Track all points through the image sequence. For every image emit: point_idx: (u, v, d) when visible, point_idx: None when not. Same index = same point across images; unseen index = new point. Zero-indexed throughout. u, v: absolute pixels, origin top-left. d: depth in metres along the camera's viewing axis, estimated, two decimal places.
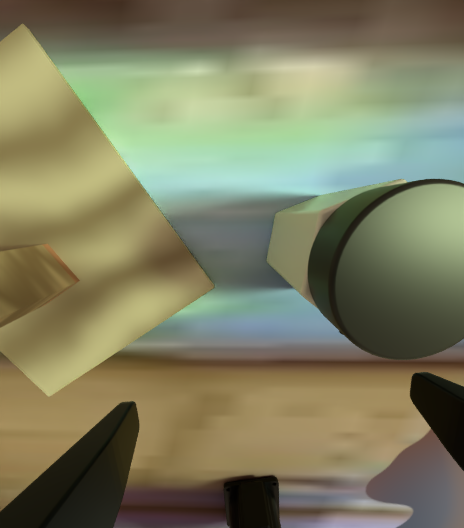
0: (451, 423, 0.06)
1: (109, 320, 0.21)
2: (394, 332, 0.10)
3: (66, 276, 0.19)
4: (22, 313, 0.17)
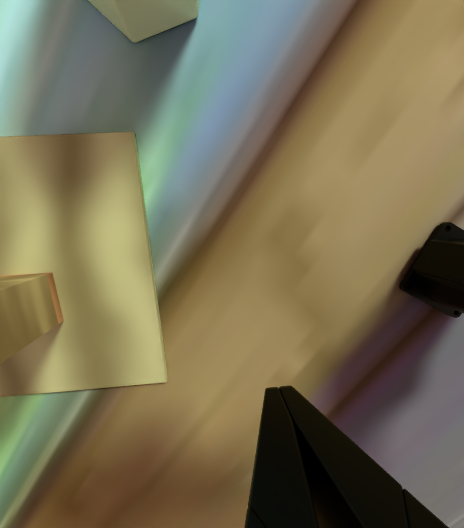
0: None
1: (112, 273, 0.17)
2: None
3: (31, 276, 0.16)
4: (16, 325, 0.14)
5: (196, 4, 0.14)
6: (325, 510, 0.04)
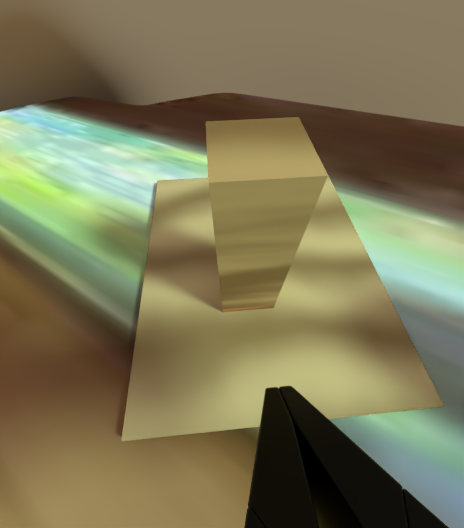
0: None
1: (279, 370, 0.15)
2: None
3: None
4: (244, 289, 0.14)
5: None
6: (325, 510, 0.04)
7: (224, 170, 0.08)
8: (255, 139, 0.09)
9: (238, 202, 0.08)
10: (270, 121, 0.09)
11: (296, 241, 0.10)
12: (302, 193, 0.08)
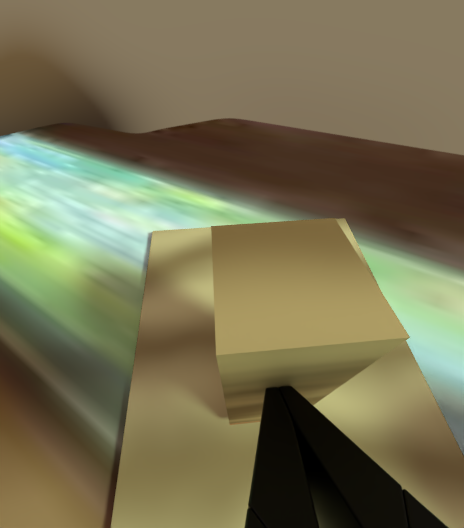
0: None
1: None
2: None
3: None
4: (260, 412, 0.11)
5: None
6: (325, 510, 0.04)
7: (241, 325, 0.05)
8: (282, 257, 0.06)
9: (262, 365, 0.05)
10: (298, 226, 0.07)
11: (340, 382, 0.07)
12: (363, 352, 0.05)
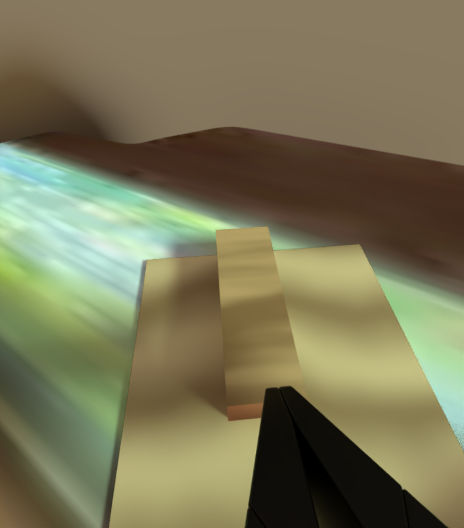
0: None
1: None
2: None
3: None
4: (249, 336, 0.13)
5: None
6: (325, 510, 0.04)
7: None
8: None
9: (229, 238, 0.17)
10: None
11: (273, 265, 0.15)
12: (260, 234, 0.17)
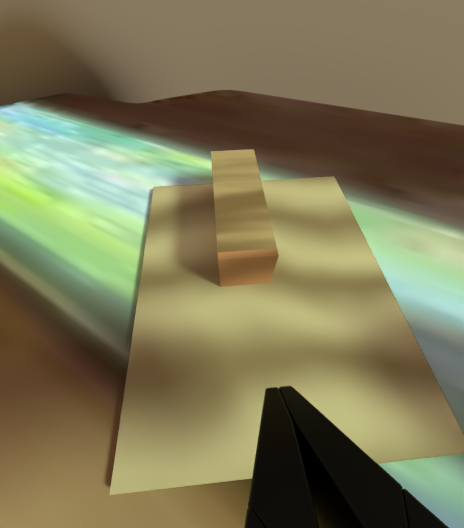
0: None
1: None
2: None
3: None
4: (235, 215, 0.17)
5: None
6: (325, 510, 0.04)
7: None
8: None
9: (222, 157, 0.20)
10: None
11: (257, 173, 0.19)
12: (247, 154, 0.21)
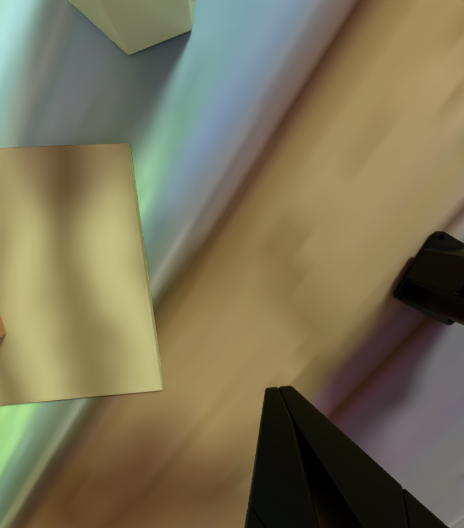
0: None
1: (108, 283, 0.17)
2: None
3: None
4: None
5: (190, 17, 0.14)
6: (325, 510, 0.04)
7: None
8: None
9: None
10: None
11: None
12: None
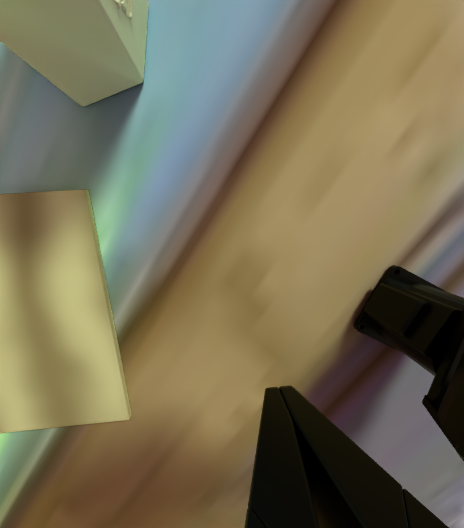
0: None
1: (71, 320, 0.18)
2: None
3: None
4: None
5: (139, 73, 0.14)
6: (325, 510, 0.04)
7: None
8: None
9: None
10: None
11: None
12: None
